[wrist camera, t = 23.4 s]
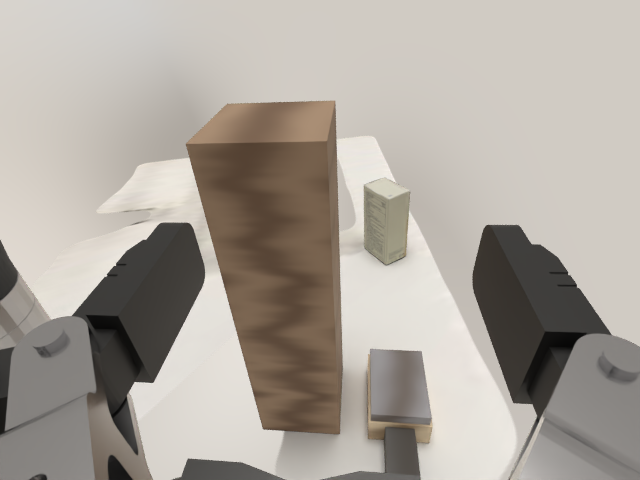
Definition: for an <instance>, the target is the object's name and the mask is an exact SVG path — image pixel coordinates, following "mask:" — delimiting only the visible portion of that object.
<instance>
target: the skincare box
mask: <svg viewBox="0 0 640 480" xmlns="http://www.w3.org/2000/svg"><path fill="white" fill-rule="evenodd" d="M409 201H410V190H408V189H407V188H405V187H403V186H401V185H399V184H397V183H395V182H393V181H391V180H389V179H387V178H381V179H378V180H376V181H373V182H370V183H367V184H364V247H365V249H367V250H368V251H369V252H370V253H371V254H373V255H374V256H375V257H377V258H378V259H379V260H380V261H382V262H383V263H384V264H386V265H387V264H390V263H392V262H394V261H396V260H398V259H400V258H402V257H404V256H406V245H407V231H408V216H409Z"/></svg>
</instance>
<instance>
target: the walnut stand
mask: <svg viewBox="0 0 640 480" xmlns="http://www.w3.org/2000/svg"><path fill="white" fill-rule="evenodd" d="M186 146H187V150H188V154H189V158H190V161H191V165H192V169H193V172H194V176H195V180H196V183H197V187H198V191H199V194H200V198H201V202H202V206H203V209H204V213H205V217H206V220H207V224H208V228H209V231H210V235H211V239H212V242H213V246H214V250H215V254H216V257H217V261H218V265H219V268H220V272H221V276H222V279H223V283H224V287H225V290H226V294H227V298H228V302H229V305H230V309H231V313H232V316H233V320H234V324H235V327H236V331H237V335H238V338H239V342H240V345H241V349H242V353H243V357H244V361H245V364H246V368H247V371H248V375H249V379H250V382H251V386H252V390H253V394H254V397H255V401H256V405H257V408H258V412H259V415H260V420H261V423H262V427H263V429H267V430H282V431H298V432H313V433H329V434H340V413H341V391H342V370H343V363H342V327H341V291H340V255H339V219H338V183H337V146H336V111H335V101H309V102H277V103H275V102H274V103H243V104H242V103H240V104H227V105H226V106H224V107H223V108H222V109H221V110H220V111H219V112H218V113H217V114H216V115H215V116H214V117H213V118H212V119H211V120H210V121H209V122H208V123H207V124H206V125H205V126H204V127H203V128H202V129H201V130H200V131H199V132H198V133H196V134H195V135H194V136H193V137H192V138H191V139H190V140H189V141H188V142H187V143H186Z"/></svg>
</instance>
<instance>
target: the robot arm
mask: <svg viewBox="0 0 640 480" xmlns="http://www.w3.org/2000/svg"><path fill="white" fill-rule="evenodd" d="M204 279H205V267H204V263H203V260H202V256H201V253H200V250H199V246H198V243H197V240H196V236H195V233H194V230H193V227H192V226H191V225H190V224H189V223H160V224H159V225H158V226H157V227H156V229H155V230H154V231H153V232H152V234H151V235H150V236H149V237H148V238H147V240H142V241H141V242H139V243H138V244H136V245H135V246H133V247H132V248H130V249H129V250H127V251H126V253H125V254H124V255H123V256H122V257H121V258H120V260H119V261H118V262H117V263H116V266H114V267H113V268H112V269H111V270H110V271H109V273H108V274H107V277H104V279H103V280H102V281H101V282H100V283H99V284H98V286H97V287H96V288H95V289H94V290H93V291H92V293H91V294H90V295H89V296H88V297H87V299H86V300H85V301H84V302H83V303H82V304H81V306H80V307H79V308H78V309H77V310H76V312H75V313H74V314H73V315H72V316H66V317H60V318H56V319H53V320H51V319H50V317H49V316H48V314H47V313H46V312H45V310H44V309H43V307H42V306H41V304H40V303H39V301H38V300H37V298H36V297H35V295H34V294H33V293H32V291H31V290H30V288H29V287H28V285H27V284H26V283H25V281H24V280H23V278H22V277H21V275H20V274H19V272H18V271H17V270H16V268H15V267H14V265H13V264H12V262H11V261H10V259H9V257H8V255H7V253H6V251H5V249H4V247H3V245H2V243H1V240H0V480H153V479H152V476H151V474H150V472H149V469H148V466H147V463H146V459H145V454H144V450H143V446H142V441H141V437H140V432H139V428H138V423H137V419H136V414H135V410H134V405H133V401H132V398H131V395H130V394H129V391H130V389H131V387H132V385H133V384H134V382H147V383H153V382H154V381H155V379H156V377H157V375H158V373H159V371H160V369H161V367H162V365H163V363H164V361H165V359H166V357H167V355H168V353H169V351H170V349H171V347H172V345H173V343H174V341H175V339H176V337H177V335H178V333H179V331H180V329H181V327H182V326H183V324H184V322H185V320H186V318H187V316H188V314H189V312H190V310H191V308H192V306H193V304H194V302H195V300H196V298H197V296H198V294H199V292H200V290H201V288H202V286H203V283H204ZM473 289H474V294H475V297H476V300H477V302H478V305H479V308H480V311H481V314H482V317H483V319H484V322H485V325H486V327H487V331H488V333H489V336H490V339H491V342H492V345H493V347H494V350H495V353H496V356H497V359H498V361H499V364H500V367H501V370H502V372H503V375H504V378H505V381H506V384H507V387H508V390H509V392H510V395H511V398H512V401H513V403H521V404H533V407H534V409H535V411H536V414H537V417H536V419H535V421H534V423H533V425H532V427H531V429H530V432H529V434H528V436H527V438H526V440H525V443H524V445H523V447H522V449H521V451H520V454H519V456H518V458H517V460H516V462H515V465H514V467H513V469H512V471H511V474H510V476H509V478H508V480H640V347H639V346H637V345H636V344H634V343H632V342H629V341H627V340H625V339H622V338H619V337H616V336H612V335H611V333H610V332H609V330H608V329H607V327H606V326H605V325H604V323H603V322H602V320H601V319H600V317H599V316H598V314H597V313H596V312H595V310H594V309H593V307H592V306H591V304H590V303H589V301H588V300H587V299H586V297H585V296H584V294H583V293H582V291H581V290H580V289H579V288H577V284H576V283H575V281H574V280H573V279H572V277H571V276H570V275H568V271H567V270H566V268H565V267H564V266H563V264H562V263H561V262H560V260H559V258H558V257H557V256H555V255H554V254H552V253H551V252H550V251H548V250H547V249H546V248H544V247H543V246H541V245H532V244H531V243H530V241H529V240H528V238H527V237H526V235H525V233H524V232H523V230H522V229H521V227H520V226H518V225H487V226H486V227H485V228H484V230H483V233H482V238H481V241H480V245H479V250H478V253H477V257H476V261H475V266H474V270H473ZM173 480H285V479H282V478H280V477H277V476H275V475H272V474H269V473H267V472H264V471H262V470H259V469H257V468H254V467H252V466H249V465H246V464H244V463H239V462H227V461H226V462H225V461H213V460H198V459H188V460H187V462H186V465H185V468H184V471H183V474H182V477H179V478H176V479H173ZM322 480H420V476H418V475H404V474H390V473H377V472H363V471H359V472H354V473H350V474H345V475H340V476H336V477H331V478H327V479H322Z"/></svg>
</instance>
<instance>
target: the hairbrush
mask: <svg viewBox="0 0 640 480" xmlns="http://www.w3.org/2000/svg"><path fill="white" fill-rule="evenodd" d="M431 419H432V417H431V411H430V404H429V397H428V391H427V384H426V378H425V371H424V364H423V358H422V351H402V350H380V349H370V354H368V439H380V440H384V450H385V473H390V474H404V475H418V476H420V471H419V462H418V453H417V444H416V442H421V443H429V440H430V436H431V432H432V420H431Z"/></svg>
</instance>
